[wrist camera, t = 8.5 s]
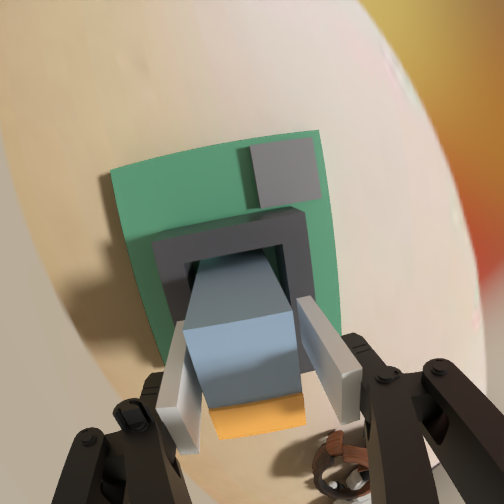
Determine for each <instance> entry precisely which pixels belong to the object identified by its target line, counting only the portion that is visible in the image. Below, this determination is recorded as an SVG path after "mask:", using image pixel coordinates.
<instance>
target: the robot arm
mask: <svg viewBox="0 0 504 504" xmlns="http://www.w3.org/2000/svg"><path fill="white" fill-rule="evenodd" d="M296 300H297V307H298V315H299V323H300V332H301V340H302V344H303V346H304V348H305V350H306V352H307V354H308V356H309V359H310V361H311V363H312V365H313V367H314V369H315V371H316V373H317V375H318V377H319V379H320V381H321V384H322V386H323V388H324V390H325V392H326V394H327V396H328V398H329V400H330V402H331V405H332V407H333V409H334V411H335V413H336V415H337V417H338V419H339V421H340V423H341V425H345V424H348V423H351V422H354V421H357V420H360V411H361V412H362V414H363V416H364V417H365V423H364V432H363V437H366V445H367V454H368V464H369V475H370V488H371V503H372V504H439V500H438V496H437V490H436V486H435V481H434V478H433V473H432V469H431V465H430V461H429V457H428V453H427V449H426V446H425V442H424V439H423V436H424V438H425V439H426V441H427V442H428V444H429V445H430V447H431V448H432V450H433V452H434V453H435V455H436V456H437V458H438V459H439V461H440V463H441V464H442V466H443V467H444V469H445V470H446V472H447V473H448V475H449V477H450V479H451V480H452V482H453V483H454V485H455V487H456V488H457V490H458V492H459V493H460V495H461V497H462V498H463V500H464V501H465V503H466V504H504V415H503V414H502V413H501V412H500V411H499V410H498V409H497V408H496V407H495V405H494V404H493V403H492V402H491V401H490V400H489V399H488V398H487V397H486V396H485V395H484V394H483V393H482V392H481V391H480V390H479V389H478V388H477V387H476V386H475V385H474V384H473V383H472V382H471V381H470V380H469V379H468V378H467V377H466V376H465V375H464V374H463V373H462V372H461V371H460V370H459V369H458V368H457V367H456V366H455V365H454V364H453V363H452V362H451V361H449V360H446V359H443V358H436V359H432V360H430V361H428V362H426V363H425V365H424V366H423V371H421V372H415V373H405V374H404V373H402V372H401V371H400V370H399V369H397V368H396V367H392V366H386V364H385V363H384V362H383V361H382V360H381V358H380V357H379V356H378V355H377V354H376V352H375V351H374V350H373V349H372V348H371V346H370V345H369V344H368V343H367V342H366V340H365V339H364V338H363V337H362V336H360V335H358V334H356V333H350V334H347V335H343V336H340V335H339V334H338V333H337V331H336V330H335V328H334V327H333V326H332V324H331V323H330V322H329V320H328V319H327V317H326V316H325V315H324V313H323V312H322V310H321V309H320V308H319V306H318V305H317V304H316V302H315V301H314V300H313V298H312V297H311V295H310V296H305V297H301V298H296ZM184 322H185V320H183V321H177V323H176V327H175V331H174V335H173V338H172V342H171V346H170V350H169V354H168V358H167V362H166V366H165V370H164V372H156V373H151V374H150V375H149V377H148V378H147V379H146V380H145V383H144V386H143V390H142V392H141V396H140V399H138V398H131V399H127V400H124V401H122V402H121V403H119V404H118V405H117V406H116V407H115V408H114V410H113V415H114V417H115V419H116V421H117V422H118V424H119V425H120V427H121V429H122V430H120V431H118V432H114V433H110V434H106V435H104V434H103V432H102V431H101V430H100V429H98V428H93V427H91V428H86V429H84V430H82V431H80V432H79V433H78V434H77V435H76V437H75V438H74V441H73V443H72V446H71V448H70V451H69V454H68V456H67V459H66V462H65V465H64V467H63V470H62V473H61V476H60V479H59V482H58V485H57V488H56V491H55V494H54V497H53V500H52V503H51V504H192V502H191V499H190V496H189V493H188V490H187V487H186V484H185V480H184V477H183V474H182V471H181V467H180V464H179V462H178V460H177V458H176V457H175V454H176V448H177V449H178V451H179V453H180V455H188V454H199V453H200V425H201V402H202V389H201V386H200V383H199V380H198V377H197V374H196V371H195V368H194V365H193V362H192V359H191V356H190V353H189V350H188V347H187V344H186V340H185V337H184V334H183V331H182V330H183V326H184ZM422 434H423V435H422Z"/></svg>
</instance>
